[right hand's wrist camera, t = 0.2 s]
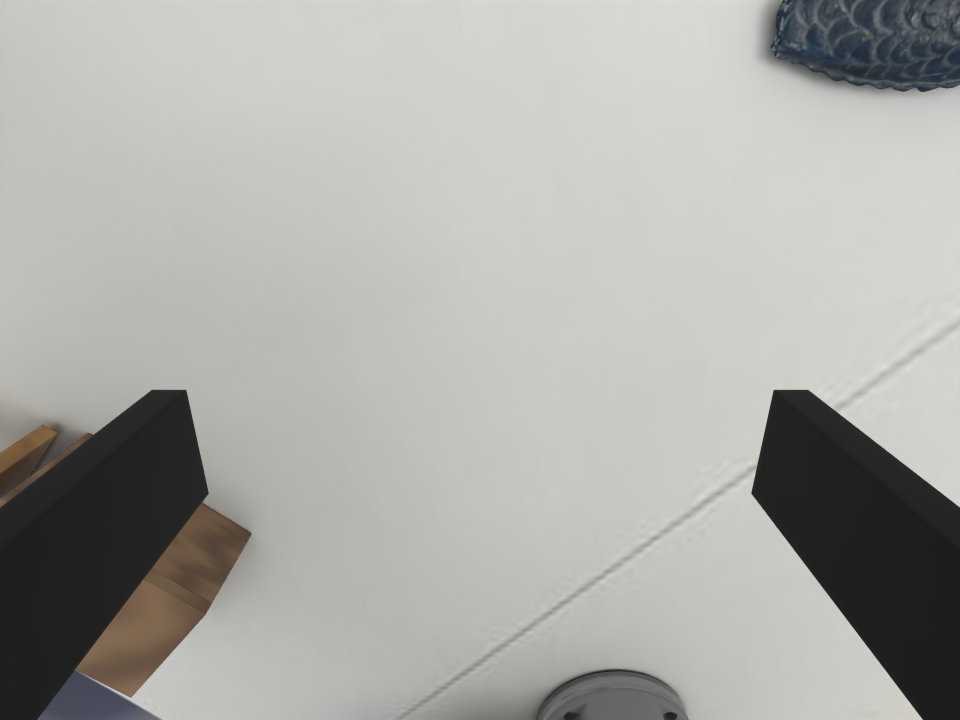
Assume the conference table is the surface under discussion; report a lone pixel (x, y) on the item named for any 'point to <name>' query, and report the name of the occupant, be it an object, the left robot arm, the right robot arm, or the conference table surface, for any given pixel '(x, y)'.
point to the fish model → (874, 41)
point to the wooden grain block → (160, 596)
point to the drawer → (23, 458)
